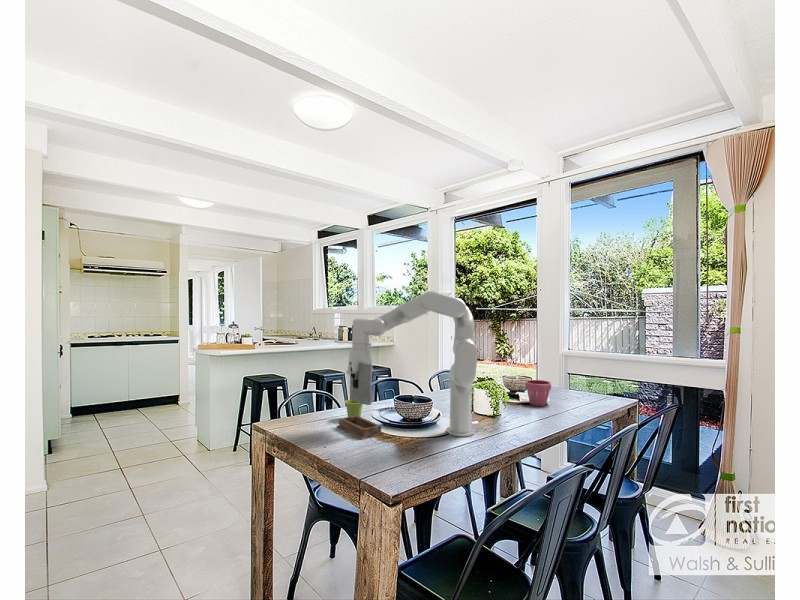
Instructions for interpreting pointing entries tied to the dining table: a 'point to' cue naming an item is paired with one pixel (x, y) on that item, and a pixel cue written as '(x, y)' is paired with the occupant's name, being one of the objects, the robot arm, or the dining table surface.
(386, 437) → the dining table surface
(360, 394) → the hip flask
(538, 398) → the plant pot
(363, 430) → the walnut stand
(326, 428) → the dining table surface
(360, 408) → the plant pot
